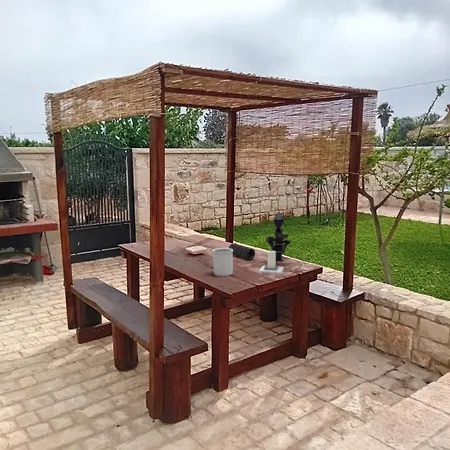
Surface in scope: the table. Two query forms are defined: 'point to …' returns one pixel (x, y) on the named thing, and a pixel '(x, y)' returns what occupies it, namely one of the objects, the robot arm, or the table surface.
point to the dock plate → (271, 269)
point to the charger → (271, 259)
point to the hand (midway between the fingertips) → (278, 251)
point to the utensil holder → (223, 261)
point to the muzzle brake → (242, 251)
